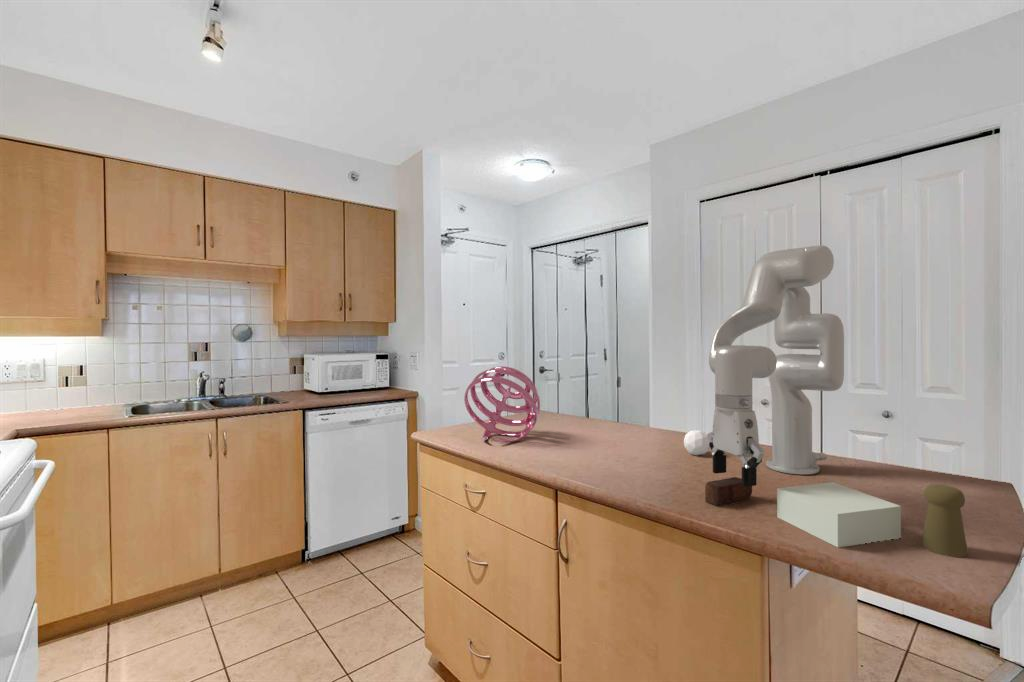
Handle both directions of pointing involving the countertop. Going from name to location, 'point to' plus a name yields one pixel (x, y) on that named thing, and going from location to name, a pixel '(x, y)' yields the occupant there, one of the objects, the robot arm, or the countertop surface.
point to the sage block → (839, 514)
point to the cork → (944, 521)
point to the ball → (696, 442)
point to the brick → (727, 492)
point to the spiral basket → (504, 402)
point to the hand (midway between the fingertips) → (733, 478)
